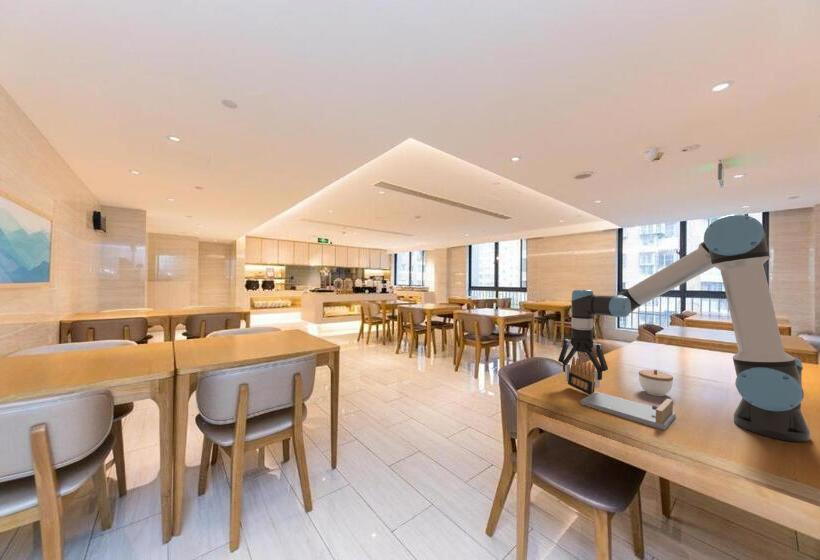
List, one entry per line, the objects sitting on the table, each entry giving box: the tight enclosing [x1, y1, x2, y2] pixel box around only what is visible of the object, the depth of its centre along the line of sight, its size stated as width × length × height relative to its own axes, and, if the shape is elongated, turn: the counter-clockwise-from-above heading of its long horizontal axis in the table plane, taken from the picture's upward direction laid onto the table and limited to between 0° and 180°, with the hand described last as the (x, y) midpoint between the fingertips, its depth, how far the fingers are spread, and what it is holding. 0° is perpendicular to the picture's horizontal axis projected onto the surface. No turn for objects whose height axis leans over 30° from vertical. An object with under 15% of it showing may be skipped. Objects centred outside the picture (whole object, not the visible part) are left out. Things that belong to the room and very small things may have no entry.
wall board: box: [580, 391, 676, 431], centre depth 107 cm, size 24×14×6 cm, turn 39°
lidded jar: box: [638, 369, 674, 397], centre depth 124 cm, size 11×11×9 cm
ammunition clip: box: [567, 356, 596, 396], centre depth 124 cm, size 11×2×12 cm, turn 21°
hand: (581, 383), depth 124 cm, fingers closed on ammunition clip, 10 cm apart
